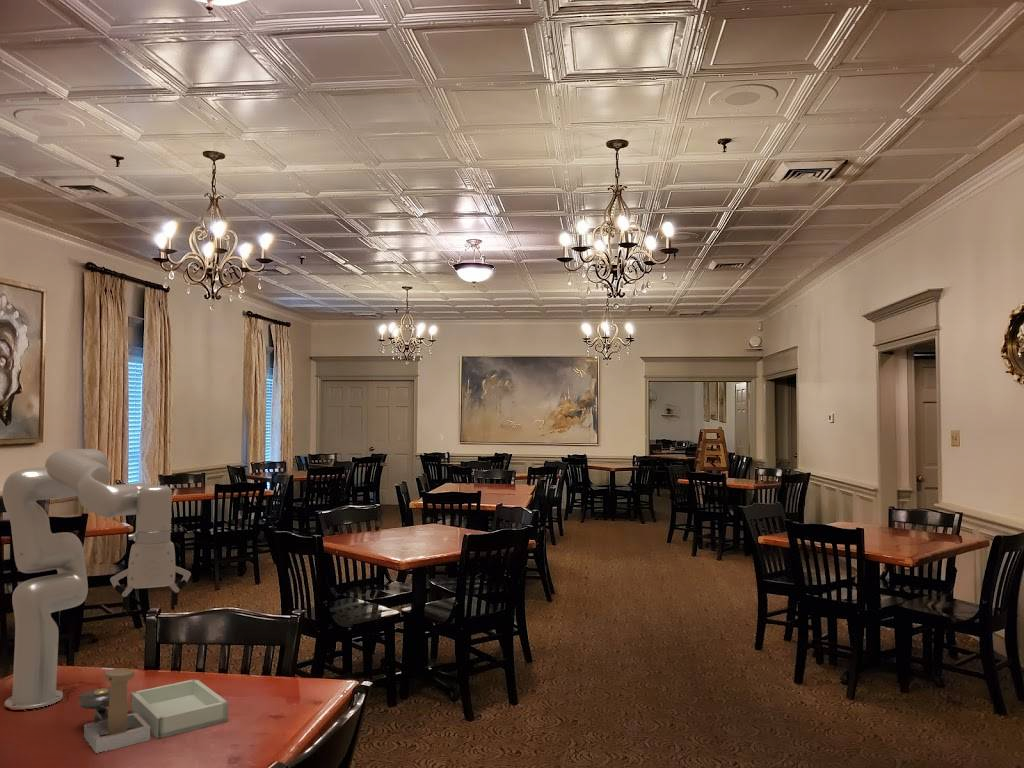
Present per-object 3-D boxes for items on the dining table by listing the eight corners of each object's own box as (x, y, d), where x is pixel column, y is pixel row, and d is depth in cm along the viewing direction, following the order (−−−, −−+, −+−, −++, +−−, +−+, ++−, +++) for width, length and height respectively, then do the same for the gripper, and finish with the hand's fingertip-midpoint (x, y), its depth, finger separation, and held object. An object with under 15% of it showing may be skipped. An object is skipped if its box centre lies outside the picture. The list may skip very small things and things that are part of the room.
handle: (117, 745, 166) (120, 677, 167) (97, 740, 168) (100, 673, 169) (136, 737, 170) (138, 670, 171) (115, 732, 173) (118, 667, 174)
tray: (130, 710, 186) (130, 692, 186) (195, 696, 197) (196, 678, 197) (157, 739, 170) (158, 718, 170) (227, 721, 180) (228, 702, 181)
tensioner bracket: (73, 724, 177) (75, 689, 178) (124, 713, 185) (125, 679, 185) (95, 753, 162) (97, 715, 162) (149, 740, 169) (151, 703, 169)
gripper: (111, 542, 170) (108, 618, 169) (193, 538, 178) (190, 610, 177) (112, 537, 176) (109, 611, 175) (191, 533, 184) (188, 603, 183)
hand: (150, 610), depth 176 cm, fingers open, 9 cm apart
